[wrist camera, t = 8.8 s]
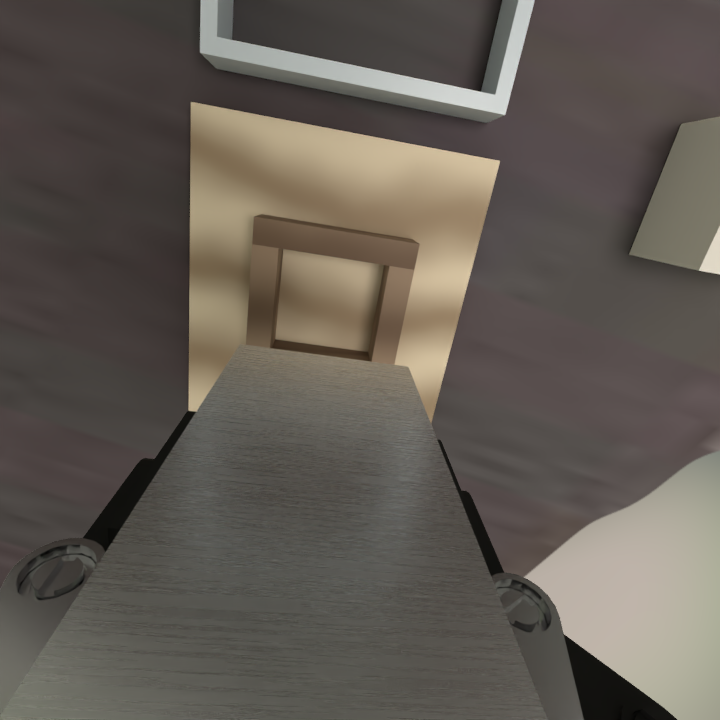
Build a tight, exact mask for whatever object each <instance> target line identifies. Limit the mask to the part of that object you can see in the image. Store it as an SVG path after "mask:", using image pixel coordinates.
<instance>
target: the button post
mask: <svg viewBox="0 0 720 720" xmlns="http://www.w3.org/2000/svg"><path fill="white" fill-rule="evenodd" d="M629 255H633V256H637V257H642V258H646V259H650V260H655V261H659V262H663V263H668V264H672V265H676V266H681V267H685V268H689V269H694V270H698V271H704V272H710V273H715V274H720V117H714V118H709V119H704V120H699V121H693V122H688V123H683V124H681V126H680V128H679V131H678V133H677V136H676V138H675V141H674V143H673V146H672V148H671V150H670V153H669V155H668V158H667V160H666V163H665V165H664V168H663V170H662V173H661V175H660V178H659V180H658V183H657V185H656V188H655V190H654V193H653V195H652V198H651V200H650V203H649V205H648V208H647V210H646V213H645V215H644V218H643V220H642V223H641V225H640V228H639V230H638V233H637V235H636V238H635V240H634V243H633V245H632V248H631V250H630V253H629Z"/></svg>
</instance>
